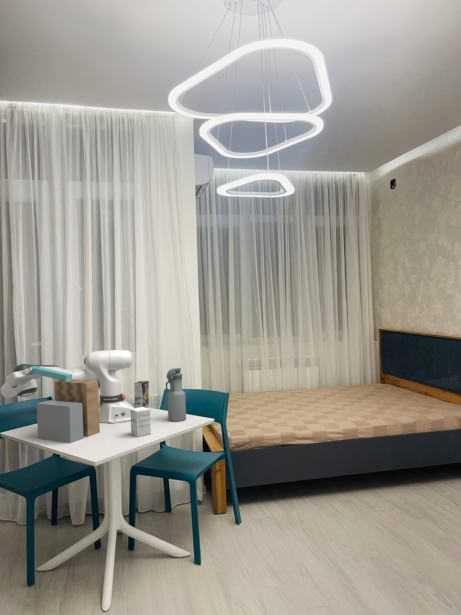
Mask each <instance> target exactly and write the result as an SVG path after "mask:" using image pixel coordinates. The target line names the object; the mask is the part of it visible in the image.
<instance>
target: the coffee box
mask: <svg viewBox="0 0 461 615" xmlns="http://www.w3.org/2000/svg"><path fill="white" fill-rule="evenodd" d="M149 383H150V382H149V380H140V381H136V382H134V383H133V387H134V388H133V389H134V393H133V394H134V408H139V407H145V408H148V407H150V388H149V387H150V384H149Z"/></svg>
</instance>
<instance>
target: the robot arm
mask: <svg viewBox="0 0 461 615" xmlns="http://www.w3.org/2000/svg"><path fill="white" fill-rule="evenodd" d="M133 362H134V356H133V353H132V351H130V350H127V349H112V350H111V349H110V350H109V349H108V350H95V351H92V352H91V351H90V352H88V354H87V355H86V356H85V357H84V359H83V364H84V368H69V369H67V368H62V367H60V366H58V365H55V364H52V365H51V364H44V365H43V364H30V363H29V364H28V363H21V364H18V365H17V366H16V367H14V369H13V372H11V373H10V374H9V375H7V376H5V380H6V382H4V384H2V386H1V387H0V394H1V395H2V396H3V398H6V399H10V398H11V399H12V398H13V397H16V396H18V397H22V398H27V397H30V396H32V395H34V394H35V393H36V392H37V391H38V385H37V382H36V380H37V379H39V378H42V376H41V375H37V374H32V373H29V372H32V371H33V368H29V367H32V366H37V367H42V368H46V369H51V370H55V371H60V372H64V373H69V374H72V379H75V380H92V381H98V390H100V392H99V393H100V395H99V423H104V424H105V423H107V424H117V423H123V422H129V421H130V422H131V409H133V408H135V406H134V405H132V404H131V403H130V402H128V401H127V400H126V398H127V396H126V395H125V394H123V393H122V392H121V390H122V388H121V380H120V378H119V377H117V376H115V375H113V374H115V373H116V372H118V371H121V370H125V369H128V368H130V367H131V366H132V365H133ZM51 379H52V380H53V382H54V381H59V380H58V379H54V378H51Z"/></svg>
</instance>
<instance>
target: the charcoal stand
mask: <svg viewBox="0 0 461 615" xmlns="http://www.w3.org/2000/svg"><path fill="white" fill-rule="evenodd" d="M36 420H37V426H36V427H37V439H41V440H48V441H54V442H62V443H69V444H73V443H74V442H77V441H80V440H83V439H84V436H83V410H82V403H76V402H64V401H55V400H46V401H41V402H37V403H36Z"/></svg>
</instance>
